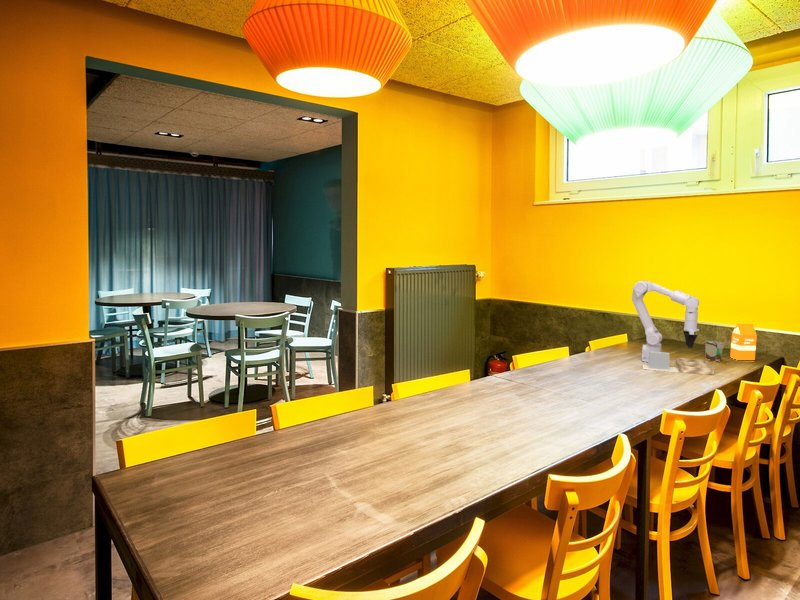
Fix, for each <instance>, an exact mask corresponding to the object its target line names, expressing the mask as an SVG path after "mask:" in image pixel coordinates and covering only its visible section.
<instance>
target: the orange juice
mask: <svg viewBox="0 0 800 600" xmlns="http://www.w3.org/2000/svg"><path fill="white" fill-rule="evenodd" d="M754 326H755V325H754V323H737V324H736V326H735V327H734V329H733V330H732V332H731V342H730V356H729V357H731V358H733V359H732V360H734V359H736V360H735V361H737V360H755V359H756V351H757V350H756V349H757V333H756V330H755V329H756V328H755V327H754ZM731 358H730V359H731Z"/></svg>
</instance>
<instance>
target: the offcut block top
mask: <svg viewBox="0 0 800 600" xmlns="http://www.w3.org/2000/svg"><path fill="white" fill-rule="evenodd" d="M689 367H700V368H701V363H700V362H689Z"/></svg>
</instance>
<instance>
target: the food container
mask: <svg viewBox="0 0 800 600" xmlns="http://www.w3.org/2000/svg"><path fill="white" fill-rule="evenodd" d="M704 344H705V358H707V359H710V360H712V361H715V362H718V363H720V362H719V361H721V360H722V355H723V350H724V348H725V344H724V342H720V341H715V340H714V341H713V340H705V342H704ZM707 359H706V360H707ZM710 360H709V361H710ZM712 361H711V362H712ZM715 362H714V363H715Z"/></svg>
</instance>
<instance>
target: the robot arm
mask: <svg viewBox="0 0 800 600" xmlns="http://www.w3.org/2000/svg"><path fill="white" fill-rule="evenodd" d="M649 292H656V293H658V294H661V295H663V296H666V297H669V298H670V300H671V301H673V302H675V303H677V304H679V305H681V306H685V312H684V313H685V314H684V326H683V331H682V333H683V334H684V338H685V339H684V340H685V345H686V346H687V348H688V349H690V348H691V349H692V348H693V347H694V343H695V341H696V339H697V337H698V334H696V332H699V331H700V329H699V328H698V321H699V320H698V319H699V318H698V317H699V305H700V300H699V298H697V297H696V296H692V295H691V294H686V293H684V292H683V291H682V290H680V289H679V290H674V291H673V290H671V289H668V288H666V287H663V286H661V285H660V284H657V283H656V282H655V283H654V282H653V281H652V282H651V281H648V280H641V281H636V283H635V284H634V286H633V287H632V296H631V301H632V304H633V306H634V308H635V310H636V312H637V314H638V317H639V319H640V322H641V324H642V326H643V329H644V335H645V336H646V337H645V338H646V339H645V340H646V343H645V344H642V348H641V356H640V357H641V362H643V361H644V363H649V351H652V352H662V344H661V342H662V341H663V335H662V333H660V332H659V330H658V329H657V327H656V326H655V324H654V322H653V319H652V317H651V314H650V313H649V311H648V308H647V306H646V304H645V302H644V297H645V295H646V294H647V293H649Z"/></svg>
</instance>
